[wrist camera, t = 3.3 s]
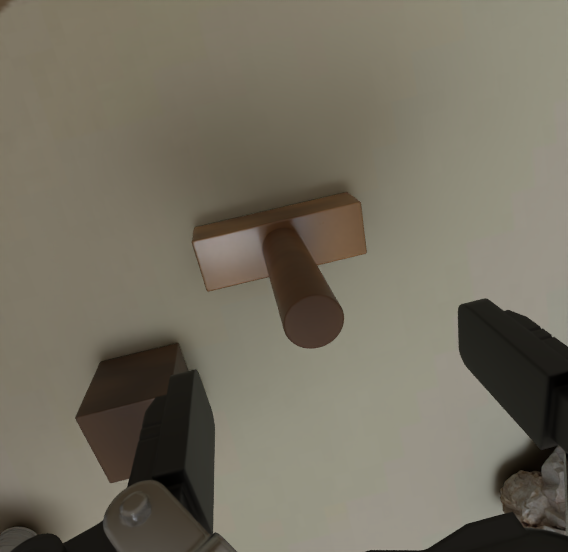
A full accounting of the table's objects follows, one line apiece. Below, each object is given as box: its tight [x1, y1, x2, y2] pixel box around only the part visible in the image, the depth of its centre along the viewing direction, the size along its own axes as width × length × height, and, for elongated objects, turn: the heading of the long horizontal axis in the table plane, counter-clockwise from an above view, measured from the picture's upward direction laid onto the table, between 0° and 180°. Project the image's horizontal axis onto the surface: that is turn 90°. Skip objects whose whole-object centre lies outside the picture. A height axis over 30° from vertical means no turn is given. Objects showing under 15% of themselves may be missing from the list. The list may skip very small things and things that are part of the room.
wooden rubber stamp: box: [192, 192, 367, 348], centre depth 19 cm, size 9×3×10 cm, turn 101°
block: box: [75, 343, 188, 483], centre depth 25 cm, size 5×5×5 cm
